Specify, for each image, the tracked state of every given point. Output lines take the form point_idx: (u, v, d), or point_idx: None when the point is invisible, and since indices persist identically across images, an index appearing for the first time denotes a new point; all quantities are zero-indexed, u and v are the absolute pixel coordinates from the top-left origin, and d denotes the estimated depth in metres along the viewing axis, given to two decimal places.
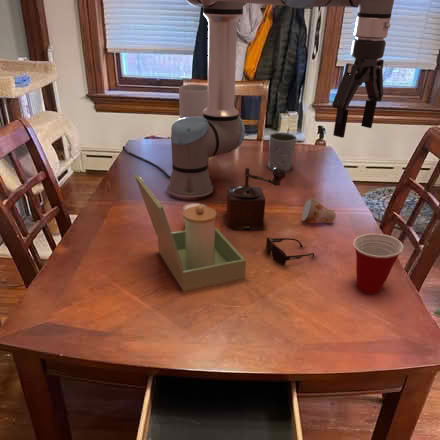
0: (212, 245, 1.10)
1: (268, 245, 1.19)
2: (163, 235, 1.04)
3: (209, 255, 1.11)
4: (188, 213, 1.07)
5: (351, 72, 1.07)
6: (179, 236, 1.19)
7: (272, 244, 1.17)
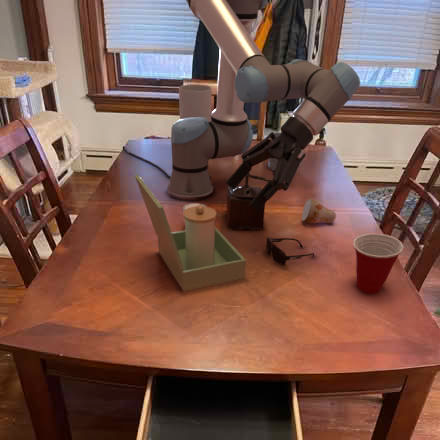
0: (212, 245, 1.10)
1: (268, 245, 1.19)
2: (163, 235, 1.04)
3: (209, 255, 1.11)
4: (188, 213, 1.07)
5: (300, 159, 1.02)
6: (179, 236, 1.19)
7: (272, 244, 1.17)
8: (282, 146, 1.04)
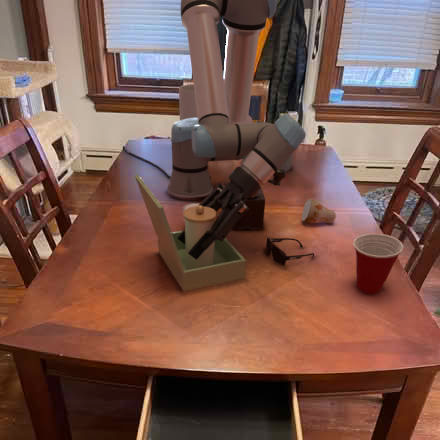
0: (212, 245, 1.10)
1: (268, 245, 1.19)
2: (163, 235, 1.04)
3: (209, 255, 1.11)
4: (188, 213, 1.07)
5: (242, 213, 1.04)
6: None
7: (272, 244, 1.17)
8: (228, 196, 1.06)
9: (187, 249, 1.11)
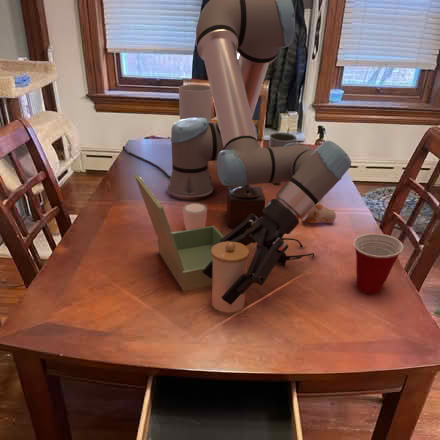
0: None
1: None
2: (163, 235, 1.04)
3: (239, 297, 0.98)
4: (217, 251, 0.94)
5: (281, 251, 0.91)
6: (179, 236, 1.19)
7: None
8: (263, 233, 0.93)
9: (215, 290, 0.98)
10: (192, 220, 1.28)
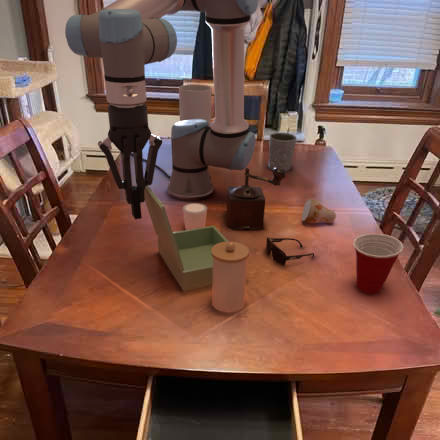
0: (243, 286, 0.98)
1: (268, 245, 1.19)
2: (163, 235, 1.04)
3: (239, 297, 0.98)
4: (217, 251, 0.94)
5: None
6: (179, 236, 1.19)
7: (272, 244, 1.17)
8: None
9: (215, 290, 0.98)
10: (192, 220, 1.28)
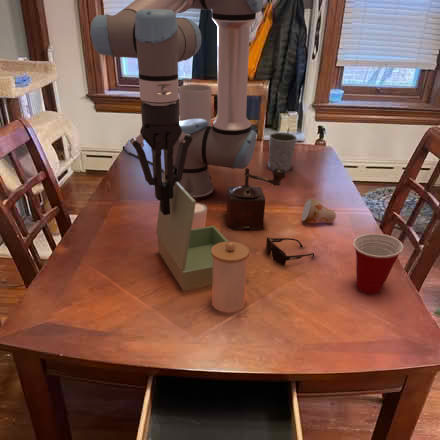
0: (243, 286, 0.98)
1: (268, 245, 1.19)
2: (174, 232, 1.05)
3: (239, 297, 0.98)
4: (217, 251, 0.94)
5: None
6: None
7: (272, 244, 1.17)
8: None
9: (215, 290, 0.98)
10: None
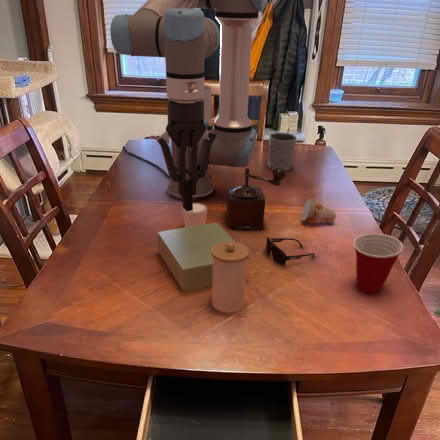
0: (243, 286, 0.98)
1: (268, 245, 1.19)
2: (195, 249, 1.10)
3: (239, 297, 0.98)
4: (217, 251, 0.94)
5: (162, 147, 0.95)
6: None
7: (272, 244, 1.17)
8: None
9: (215, 290, 0.98)
10: (192, 220, 1.28)
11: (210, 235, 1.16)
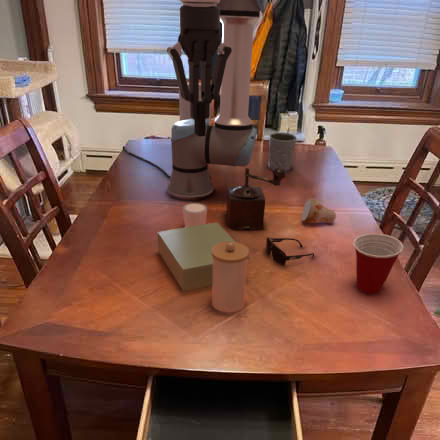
0: (243, 286, 0.98)
1: (268, 245, 1.19)
2: (195, 249, 1.10)
3: (239, 297, 0.98)
4: (217, 251, 0.94)
5: (173, 59, 0.88)
6: None
7: (272, 244, 1.17)
8: None
9: (215, 290, 0.98)
10: (192, 220, 1.28)
11: (210, 235, 1.16)
